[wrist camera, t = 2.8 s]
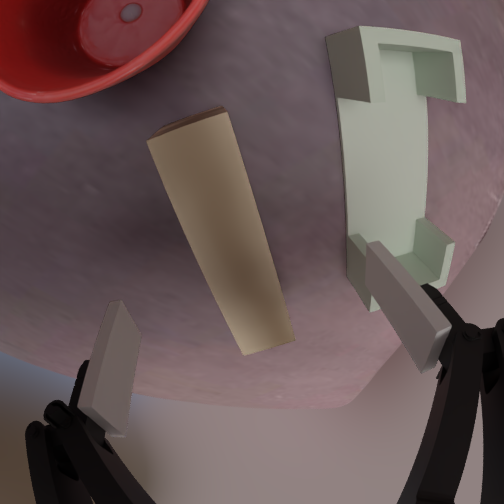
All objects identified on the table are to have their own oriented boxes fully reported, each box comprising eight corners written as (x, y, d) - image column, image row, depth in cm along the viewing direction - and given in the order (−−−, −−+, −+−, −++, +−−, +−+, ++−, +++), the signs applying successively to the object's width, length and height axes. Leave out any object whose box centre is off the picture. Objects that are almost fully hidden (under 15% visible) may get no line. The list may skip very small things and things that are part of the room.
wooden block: (235, 303, 26) (243, 355, 21) (164, 125, 18) (146, 141, 13) (278, 290, 26) (295, 340, 21) (221, 105, 18) (227, 111, 12)
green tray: (346, 276, 26) (369, 312, 22) (325, 37, 15) (358, 25, 11) (417, 255, 26) (445, 285, 22) (416, 41, 16) (459, 40, 11)
